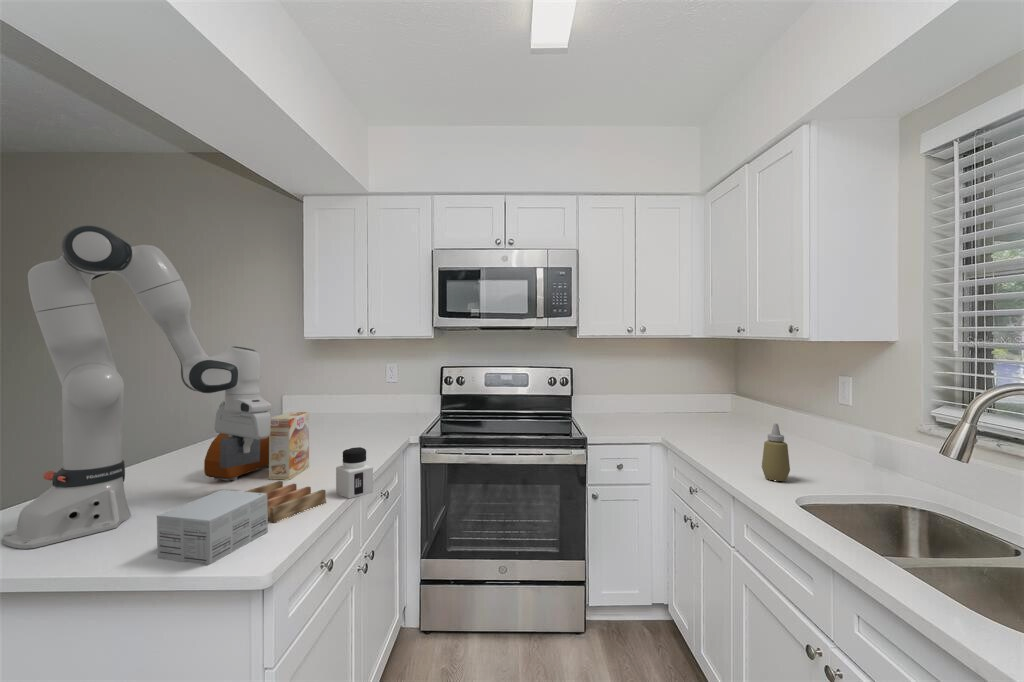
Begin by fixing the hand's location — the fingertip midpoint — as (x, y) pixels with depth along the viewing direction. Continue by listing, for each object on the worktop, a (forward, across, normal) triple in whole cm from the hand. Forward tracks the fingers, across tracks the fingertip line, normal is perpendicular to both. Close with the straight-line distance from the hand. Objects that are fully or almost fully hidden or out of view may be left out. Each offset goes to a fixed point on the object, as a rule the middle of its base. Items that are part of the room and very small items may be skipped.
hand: (240, 451), depth 139 cm
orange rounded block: (+13, -20, +15) cm, 28 cm away
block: (+4, 0, 0) cm, 4 cm away
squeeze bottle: (+8, +138, +89) cm, 164 cm away
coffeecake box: (+12, -6, +22) cm, 26 cm away
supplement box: (+13, +26, -23) cm, 37 cm away
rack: (+12, +18, -1) cm, 21 cm away
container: (+12, +28, +17) cm, 34 cm away
